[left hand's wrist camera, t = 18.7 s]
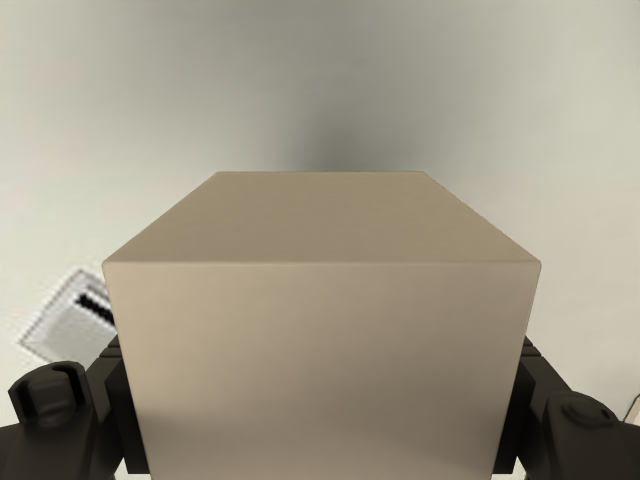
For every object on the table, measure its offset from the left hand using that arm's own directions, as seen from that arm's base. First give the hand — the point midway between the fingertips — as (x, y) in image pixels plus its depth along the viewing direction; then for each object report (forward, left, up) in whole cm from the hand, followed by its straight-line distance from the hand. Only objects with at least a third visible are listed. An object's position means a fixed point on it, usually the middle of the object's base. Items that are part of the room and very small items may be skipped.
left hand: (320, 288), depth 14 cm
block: (0, 0, -1) cm, 1 cm away
